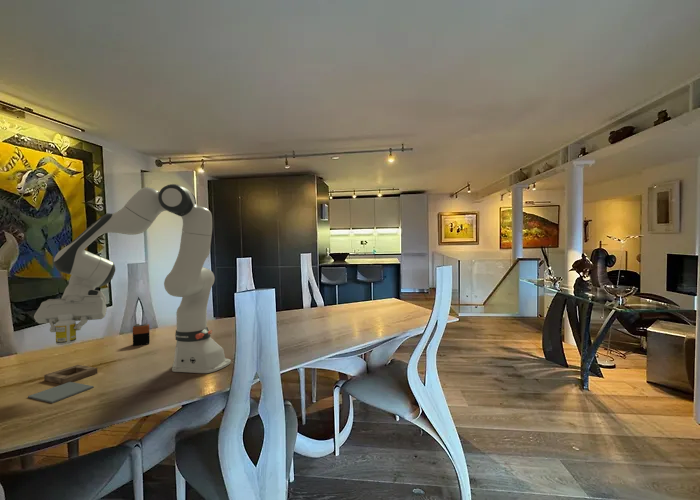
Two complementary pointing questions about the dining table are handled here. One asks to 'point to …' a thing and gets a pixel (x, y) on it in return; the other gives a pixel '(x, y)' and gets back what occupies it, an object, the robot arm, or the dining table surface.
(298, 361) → the dining table surface
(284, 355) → the dining table surface
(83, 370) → the walnut holder
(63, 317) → the supplement bottle
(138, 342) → the battery
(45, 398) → the charcoal mat
